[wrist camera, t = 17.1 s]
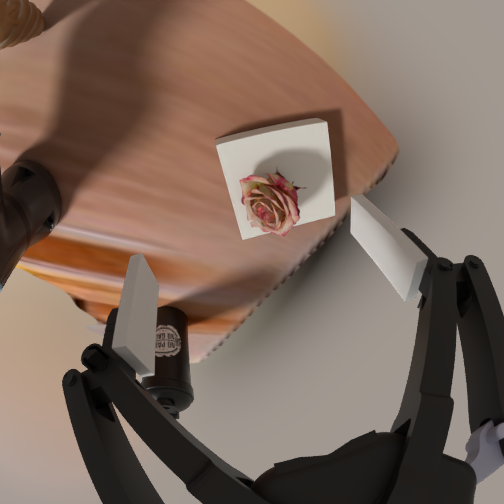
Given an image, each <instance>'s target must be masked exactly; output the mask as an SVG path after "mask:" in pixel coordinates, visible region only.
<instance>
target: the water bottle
mask: <svg viewBox="0 0 504 504" xmlns="http://www.w3.org/2000/svg"><path fill="white" fill-rule="evenodd" d="M141 385H142V386H143V387H144V388H145V389H146V390H147V391H148V392H149V393H150V394H151V395H152V397H153V398H154V399H155V400H156V401H157V402H158V403H159V404H160V405H161V406H162V407H163V408H164V409H165V410H166V411H167V412H168V413H169V414H170V415H171V416H172V417H173V418H174V419H179V412H181V411H183V410H185V409H187V408H188V407H189V406H190V404H191V403H192V402H193V400H194V395H193V388H192V386H191V378H190V365H189V347H188V326H187V316H186V315H185V313H184V312H183V311H181V310H179V309H177V308H174V307H168V306H165V307H159V308H157V322H156V341H155V375H153V376H146V377H142V382H141Z"/></svg>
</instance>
